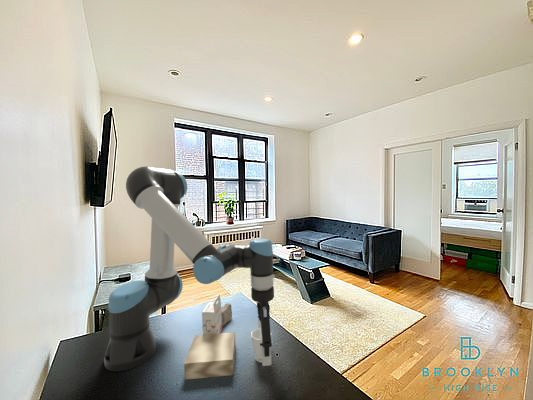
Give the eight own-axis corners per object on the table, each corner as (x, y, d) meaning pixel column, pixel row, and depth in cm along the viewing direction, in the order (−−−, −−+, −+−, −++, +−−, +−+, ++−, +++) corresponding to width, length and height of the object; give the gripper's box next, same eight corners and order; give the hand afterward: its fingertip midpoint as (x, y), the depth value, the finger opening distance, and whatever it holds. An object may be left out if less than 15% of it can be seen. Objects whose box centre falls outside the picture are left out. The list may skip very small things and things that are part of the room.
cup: (248, 363, 73) (247, 338, 73) (258, 343, 82) (257, 321, 82) (269, 367, 71) (268, 341, 71) (277, 346, 80) (276, 323, 80)
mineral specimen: (221, 314, 104) (220, 300, 104) (234, 317, 101) (234, 302, 101) (202, 329, 93) (202, 313, 93) (217, 332, 90) (216, 317, 90)
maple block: (184, 380, 67) (184, 363, 67) (195, 349, 81) (194, 335, 81) (233, 376, 68) (232, 359, 68) (235, 346, 82) (235, 332, 82)
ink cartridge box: (209, 330, 91) (208, 293, 91) (222, 330, 91) (220, 293, 91) (202, 344, 83) (201, 303, 83) (216, 344, 83) (214, 303, 82)
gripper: (279, 302, 64) (282, 377, 64) (269, 273, 89) (270, 327, 89) (253, 304, 63) (255, 380, 64) (249, 274, 88) (251, 329, 88)
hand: (264, 350), depth 76 cm, fingers open, 13 cm apart
